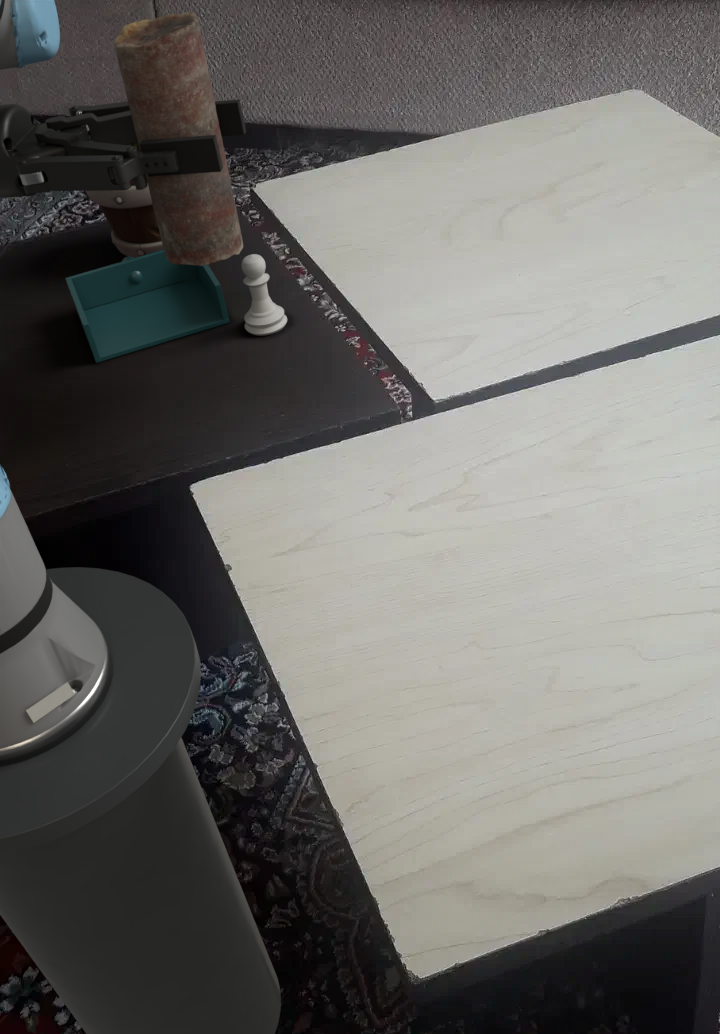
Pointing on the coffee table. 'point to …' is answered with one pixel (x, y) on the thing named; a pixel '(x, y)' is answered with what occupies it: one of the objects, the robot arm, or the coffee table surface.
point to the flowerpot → (130, 219)
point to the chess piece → (260, 299)
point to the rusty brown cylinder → (179, 135)
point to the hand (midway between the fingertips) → (230, 134)
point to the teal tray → (145, 303)
